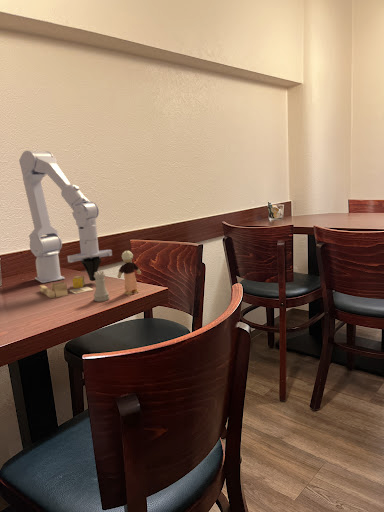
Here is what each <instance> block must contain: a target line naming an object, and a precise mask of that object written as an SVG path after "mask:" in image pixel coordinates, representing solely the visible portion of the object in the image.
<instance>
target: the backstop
mask: <svg viewBox="0 0 384 512" xmlns="http://www.w3.org/2000/svg"><path fill="white" fill-rule="evenodd" d="M39 292H40V293H42V294H44V295H46V296H47V297H48V298H50V299H55V298H56V297H55V292H54V291H53V290H52V288H49V287H48V286H46V285H45V284H41V285H39Z"/></svg>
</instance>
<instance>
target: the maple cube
mask: <svg viewBox="0 0 384 512" xmlns="http://www.w3.org/2000/svg"><path fill="white" fill-rule="evenodd" d="M50 285H51V290H53V291H54V292H55V298H61V297H65V296H68V295H69V293H68V287H67V283H66V282H64V281H58V282H55V283H54V282H53V283H51V284H50Z"/></svg>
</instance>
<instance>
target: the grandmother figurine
mask: <svg viewBox="0 0 384 512" xmlns="http://www.w3.org/2000/svg"><path fill="white" fill-rule="evenodd" d="M121 259H122V260H123V262H124V264H122V265H121V266H120V268H119V269H118V275H117V278H118V279H121V278H122V275H123V277H124V290H125V291H124V293H123V294H124V295H129V296H130V295H133V294H135V293H137V294H138V293H139V290H138V283H137V278H136V274H135V271H136V273H137V275H142V271H141V270H140V268H139V266H138V265H137V264H136V263H135V262H133V259H134V254H133V253H132V252H131V251H130V250H125V251H123V252H122V254H121Z"/></svg>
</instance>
